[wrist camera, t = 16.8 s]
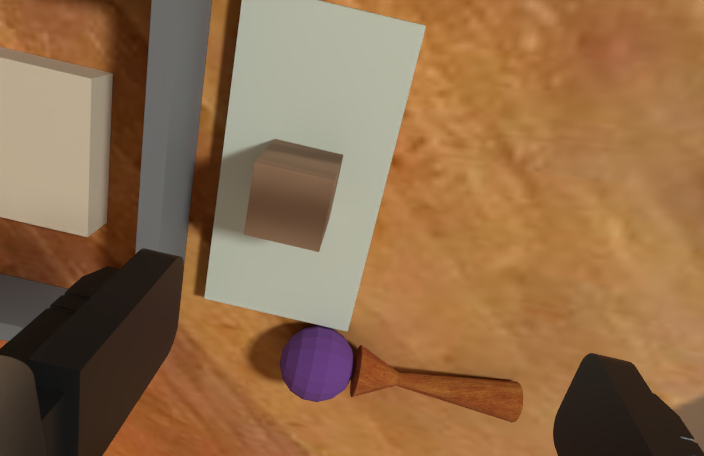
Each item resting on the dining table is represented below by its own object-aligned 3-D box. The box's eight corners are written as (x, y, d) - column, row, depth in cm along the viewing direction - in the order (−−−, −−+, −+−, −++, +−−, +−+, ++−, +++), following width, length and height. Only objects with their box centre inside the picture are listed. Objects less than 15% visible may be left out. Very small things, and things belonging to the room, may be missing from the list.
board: (249, -17, 36) (244, -18, 35) (424, 25, 36) (425, 26, 35) (210, 289, 46) (204, 298, 44) (349, 321, 46) (347, 331, 44)
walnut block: (275, 138, 39) (254, 161, 33) (343, 154, 39) (334, 180, 33) (264, 202, 41) (243, 234, 35) (329, 218, 41) (318, 252, 35)
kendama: (507, 453, 45) (269, 409, 43) (494, 394, 50) (281, 353, 48) (537, 409, 42) (281, 359, 40) (520, 351, 47) (292, 304, 45)
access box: (-160, -127, 36) (-262, -151, 30) (216, -38, 36) (183, -45, 30) (-106, 264, 47) (-173, 299, 42) (177, 329, 48) (148, 373, 42)
